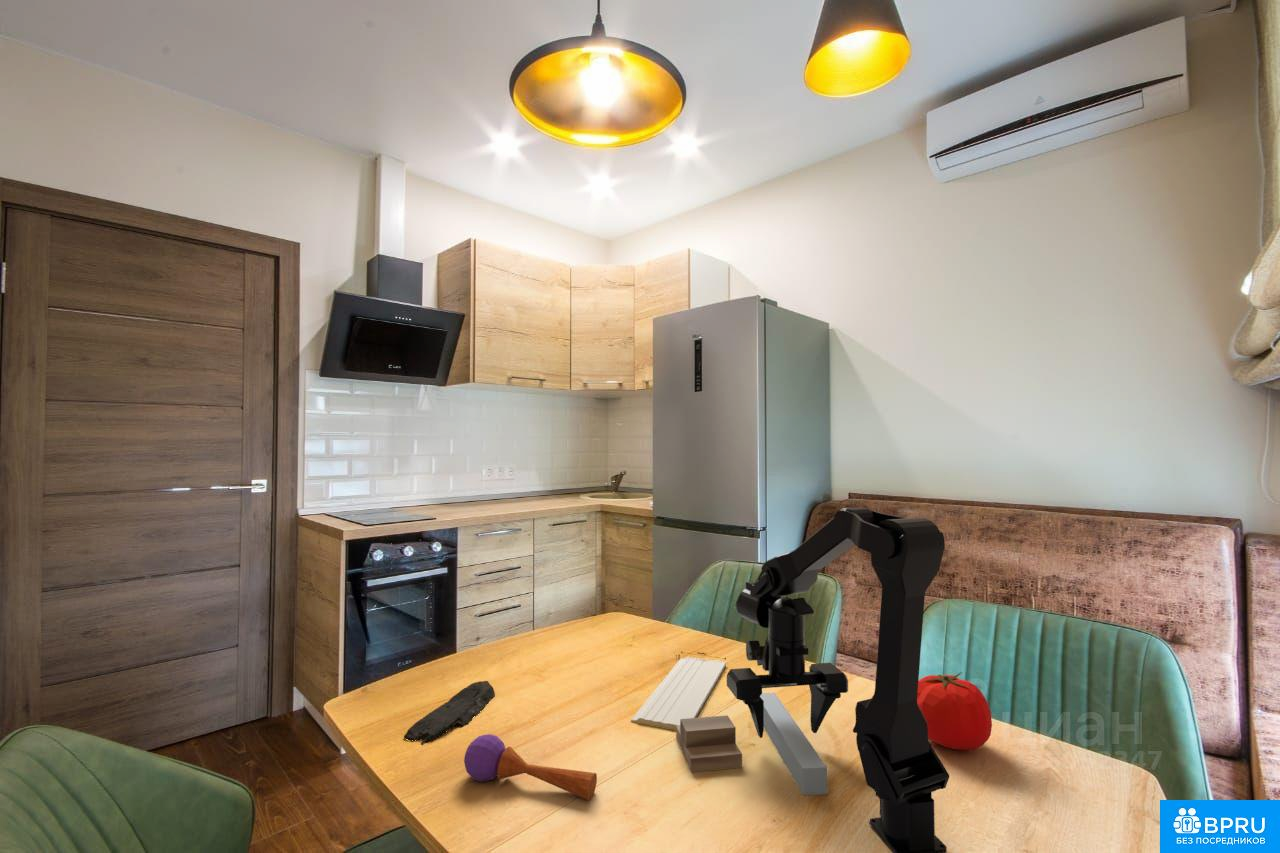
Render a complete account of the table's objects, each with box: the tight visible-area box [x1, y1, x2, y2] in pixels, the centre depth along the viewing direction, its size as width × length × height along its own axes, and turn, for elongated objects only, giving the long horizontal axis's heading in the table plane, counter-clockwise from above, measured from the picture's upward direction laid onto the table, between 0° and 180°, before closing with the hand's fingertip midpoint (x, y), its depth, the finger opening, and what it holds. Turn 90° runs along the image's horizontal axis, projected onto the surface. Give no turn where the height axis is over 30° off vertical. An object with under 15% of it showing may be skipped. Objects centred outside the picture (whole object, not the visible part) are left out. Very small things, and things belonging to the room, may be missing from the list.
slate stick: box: [760, 692, 828, 796], centre depth 90 cm, size 24×4×4 cm, turn 4°
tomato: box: [917, 671, 993, 751], centre depth 92 cm, size 12×12×11 cm
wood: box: [403, 680, 496, 745], centre depth 102 cm, size 22×7×3 cm, turn 162°
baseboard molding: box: [630, 651, 727, 731], centre depth 112 cm, size 31×3×12 cm
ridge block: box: [675, 715, 743, 773], centre depth 89 cm, size 10×8×4 cm
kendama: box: [463, 733, 598, 802], centre depth 80 cm, size 6×6×20 cm
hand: (787, 734), depth 90 cm, fingers open, 9 cm apart
